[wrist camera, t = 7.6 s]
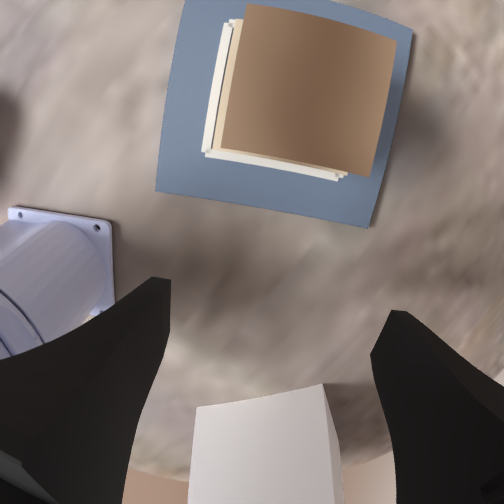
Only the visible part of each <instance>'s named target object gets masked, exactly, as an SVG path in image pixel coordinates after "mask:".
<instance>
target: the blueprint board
mask: <svg viewBox="0 0 504 504" xmlns="http://www.w3.org/2000/svg"><path fill="white" fill-rule="evenodd" d="M247 3H249V4H257V5H264V6H270V7H276V8H282V9H287V10H292V11H297V12H302V13H306V14H311V15H315V16H319V17H323V18H327V19H331V20H335V21H338V22H342V23H345V24H349V25H352V26H355V27H358V28H362V29H365V30H368V31H371V32H374V33H376V34H379V35H382V36H385V37H387V38H390V39H393V40H395V41H397V45H396V52H395V58H394V64H393V70H392V76H391V81H390V87H389V92H388V97H387V102H386V107H385V112H384V117H383V121H382V126H381V130H380V135H379V139H378V144H377V148H376V152H375V156H374V160H373V164H372V168H371V172H370V176H369V177H365V176H361V175H357V174H353V173H348V174H347V176H346V175H342V174H338V173H333V172H329V171H325V170H320V169H316V168H311V167H306V166H301V165H297V164H292V163H287V162H282V161H276V160H271V159H266V158H260V157H254V156H248V155H243V154H236V153H230V152H224V151H217V150H212V147H213V141H214V134H215V128H216V122H217V116H218V110H219V104H220V98H221V93H222V87H223V82H224V76H225V71H226V66H227V60H228V55H229V50H230V45H231V40H232V35H233V30H234V26H235V21H236V19H243V20H244V15H245V10H246V5H247ZM412 32H413V30H412V29H410V28H408V27H405V26H403V25H401V24H398V23H396V22H393V21H391V20H388V19H385V18H383V17H380V16H377V15H374V14H372V13H369V12H366V11H363V10H360V9H357V8H353V7H350V6H347V5H344V4H340V3H337V2H333V1H329V0H185V4H184V8H183V12H182V16H181V21H180V25H179V30H178V35H177V40H176V45H175V50H174V55H173V60H172V66H171V71H170V77H169V83H168V89H167V96H166V102H165V109H164V116H163V124H162V132H161V140H160V149H159V158H158V168H157V179H156V190H155V191H156V192H163V193H170V194H177V195H184V196H191V197H197V198H204V199H210V200H216V201H223V202H229V203H235V204H241V205H247V206H253V207H258V208H264V209H270V210H275V211H281V212H286V213H292V214H297V215H302V216H308V217H313V218H318V219H323V220H328V221H333V222H338V223H343V224H348V225H353V226H358V227H362V228H367V229H368V226H369V223H370V220H371V217H372V213H373V210H374V207H375V203H376V200H377V196H378V193H379V189H380V186H381V182H382V178H383V175H384V171H385V167H386V163H387V160H388V156H389V152H390V148H391V143H392V139H393V135H394V131H395V126H396V122H397V117H398V113H399V108H400V103H401V98H402V93H403V88H404V82H405V77H406V71H407V65H408V59H409V53H410V46H411V39H412Z"/></svg>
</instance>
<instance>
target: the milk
mask: <svg viewBox="0 0 504 504" xmlns="http://www.w3.org/2000/svg"><path fill="white" fill-rule="evenodd" d="M188 504H345V499H344V488H343V478H342V467H341V458H340V449H339V441H338V437H337V433H336V430H335V426H334V423H333V419H332V415H331V412H330V408H329V405H328V401H327V398H326V394H325V391H324V387H323V384H318V385H314V386H310V387H306V388H302V389H297V390H293V391H289V392H284V393H279V394H274V395H270V396H264V397H259V398H254V399H248V400H243V401H237V402H230V403H224V404H217V405H210V406H202V407H197V410H196V419H195V429H194V438H193V448H192V459H191V469H190V481H189V492H188Z"/></svg>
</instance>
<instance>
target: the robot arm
mask: <svg viewBox="0 0 504 504" xmlns="http://www.w3.org/2000/svg"><path fill="white" fill-rule="evenodd" d="M21 213H22V214H23V216H22V215H21ZM8 219H9V220H8V221H7V222H5V223H3V224H2V225H0V504H122V498H123V491H124V485H125V479H126V474H127V469H128V464H129V459H130V454H131V450H132V445H133V441H134V437H135V433H136V429H137V425H138V421H139V418H140V415H141V412H142V409H143V407H144V404H145V402H146V399H147V397H148V394H149V391H150V389H151V386H152V384H153V381H154V379H155V376H156V374H157V371H158V369H159V366H160V364H161V361H162V359H163V356H164V352H165V348H166V344H167V341H168V337H169V333H170V297H171V280H169V279H163V278H158V277H151V278H149V279H148V280H147V281H145V282H144V283H142V284H141V285H140V286H138V287H137V288H136V289H134V290H133V291H132V292H130V293H129V294H128V295H126V296H125V297H124V298H122V299H121V300H119V301H118V302H116V303H115V296H114V280H113V257H112V226H111V224H110V223H109V222H108V221H106V220H101V219H95V218H89V217H82V216H76V215H69V214H63V213H57V212H50V211H44V210H37V209H31V208H24V207H17V206H12V207H10V208H9V209H8ZM96 224H97V225H99V226H100V230H99V229H97V227H96ZM102 310H103V311H102ZM89 314H91V315H95V316H96V317H94V318H92V319H91V320H89V321H88V322H86V323H84V324H83V322H84V321H85V319H86V318H87V317H88V315H89ZM82 324H83V325H82ZM370 357H371V364H372V370H373V376H374V381H375V384H376V388H377V391H378V394H379V398H380V401H381V404H382V408H383V411H384V414H385V418H386V421H387V425H388V428H389V432H390V436H391V441H392V447H393V454H394V462H395V473H396V490H397V491H396V492H397V494H396V503H397V504H504V387H503V386H502V385H500V384H499V383H497V382H496V381H494V380H493V379H491V378H490V377H488V376H487V375H485V374H484V373H482V372H481V371H480V370H478V369H477V368H476V367H474V366H473V365H472V364H470V363H469V362H468V361H467V360H465V359H464V358H463V357H462V356H460V355H459V354H458V353H457V352H456V351H454V350H453V349H452V348H451V347H450V346H449V345H447V344H446V343H445V342H444V341H443V340H442V339H440V338H439V337H438V336H437V335H436V334H435V333H433V332H432V331H431V330H430V329H429V328H428V327H426V326H425V325H424V324H423V323H422V322H420V321H419V320H418V319H417V318H415V317H414V316H412V315H411V314H410V313H408V312H406V311H398V310H391V312H390V314H389V316H388V318H387V321H386V323H385V325H384V327H383V329H382V331H381V333H380V336H379V338H378V340H377V342H376V344H375V346H374V348H373V350H372V352H371V354H370Z"/></svg>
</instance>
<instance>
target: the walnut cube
mask: <svg viewBox="0 0 504 504" xmlns="http://www.w3.org/2000/svg"><path fill="white" fill-rule="evenodd" d="M396 45H397V41H395V40H393V39H390V38H387V37H385V36H382V35H379V34H376V33H374V32H371V31H368V30H365V29H362V28H358V27H355V26H352V25H349V24H345V23H342V22H338V21H335V20H331V19H327V18H323V17H319V16H315V15H311V14H306V13H302V12H297V11H292V10H287V9H282V8H276V7H270V6H264V5H257V4H249V3H247V5H246V10H245V15H244V20H243V25H242V30H241V34H240V40H239V45H238V50H237V55H236V60H235V66H234V71H233V76H232V82H231V88H230V93H229V99H228V105H227V111H226V117H225V123H224V129H223V135H222V142H221V148H224V149H231V150H237V151H244V152H250V153H256V154H261V155H267V156H273V157H278V158H283V159H289V160H294V161H299V162H304V163H308V164H313V165H318V166H322V167H327V168H331V169H336V170H340V171H344V172H348V173H353V174H357V175H361V176H365V177H369V176H370V172H371V168H372V164H373V160H374V156H375V152H376V148H377V144H378V139H379V135H380V130H381V126H382V121H383V117H384V112H385V107H386V102H387V97H388V92H389V87H390V81H391V76H392V70H393V64H394V58H395V52H396Z"/></svg>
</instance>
